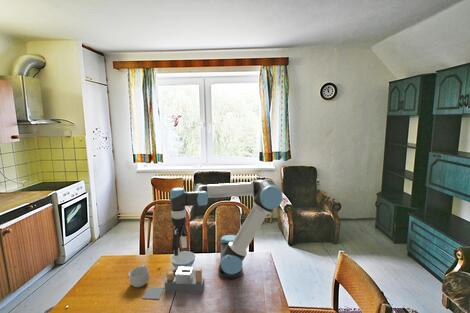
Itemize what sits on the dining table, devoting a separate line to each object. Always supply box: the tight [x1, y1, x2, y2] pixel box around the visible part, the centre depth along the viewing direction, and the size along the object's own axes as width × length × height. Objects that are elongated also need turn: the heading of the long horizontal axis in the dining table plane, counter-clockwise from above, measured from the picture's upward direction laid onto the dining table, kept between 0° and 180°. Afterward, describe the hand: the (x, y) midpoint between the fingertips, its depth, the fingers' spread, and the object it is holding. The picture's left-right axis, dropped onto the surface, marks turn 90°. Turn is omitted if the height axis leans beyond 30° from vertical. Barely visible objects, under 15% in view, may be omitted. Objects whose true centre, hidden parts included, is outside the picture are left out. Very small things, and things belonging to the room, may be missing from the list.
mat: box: [141, 286, 165, 300], centre depth 139 cm, size 9×9×1 cm
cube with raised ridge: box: [174, 266, 194, 284], centre depth 142 cm, size 8×6×7 cm
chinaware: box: [170, 250, 196, 270], centre depth 162 cm, size 15×15×8 cm
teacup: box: [128, 264, 150, 288], centre depth 148 cm, size 14×11×8 cm
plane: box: [164, 267, 205, 294], centre depth 142 cm, size 21×6×12 cm, turn 86°
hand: (180, 253), depth 141 cm, fingers open, 13 cm apart
